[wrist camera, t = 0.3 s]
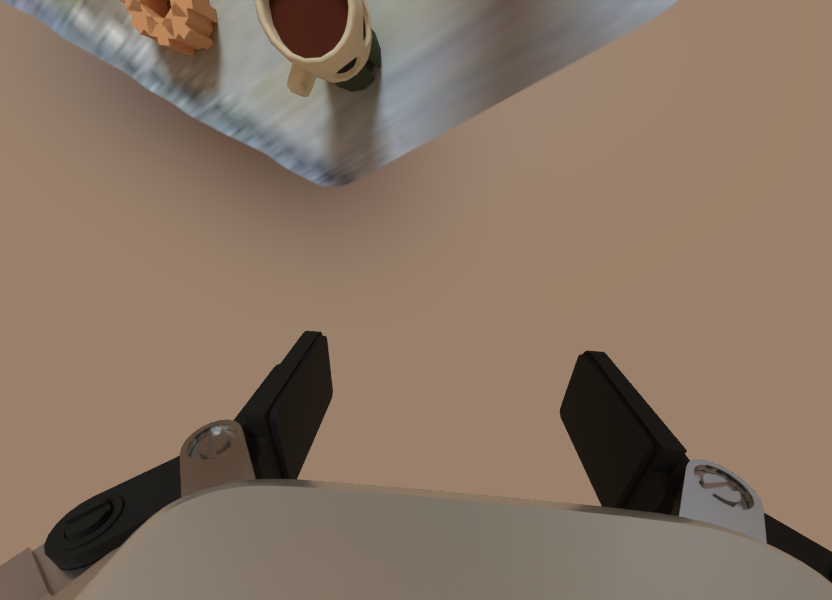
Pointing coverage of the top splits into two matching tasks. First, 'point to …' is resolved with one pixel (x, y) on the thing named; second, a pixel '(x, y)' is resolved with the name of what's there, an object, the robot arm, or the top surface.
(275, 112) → the top surface
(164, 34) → the loose gear
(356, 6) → the character mug
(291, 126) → the top surface
